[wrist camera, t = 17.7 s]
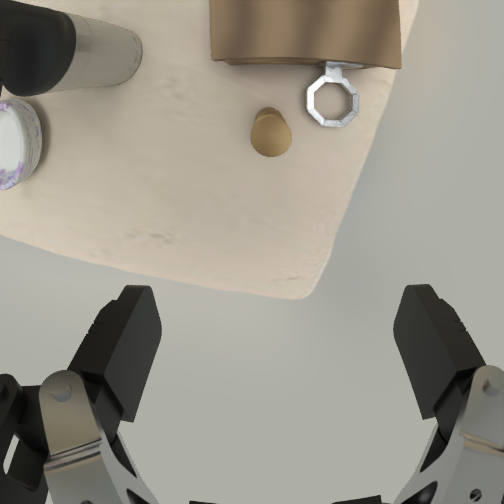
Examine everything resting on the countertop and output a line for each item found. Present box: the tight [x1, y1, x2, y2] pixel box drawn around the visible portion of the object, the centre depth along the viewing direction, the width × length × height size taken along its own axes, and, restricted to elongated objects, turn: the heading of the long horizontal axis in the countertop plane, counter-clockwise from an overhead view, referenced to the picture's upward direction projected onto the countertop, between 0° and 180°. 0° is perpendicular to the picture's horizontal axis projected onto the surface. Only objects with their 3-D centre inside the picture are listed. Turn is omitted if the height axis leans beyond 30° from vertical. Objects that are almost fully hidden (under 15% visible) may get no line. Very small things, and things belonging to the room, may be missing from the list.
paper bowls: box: [0, 99, 42, 190], centre depth 37 cm, size 15×15×8 cm
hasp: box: [305, 60, 364, 127], centre depth 31 cm, size 7×8×8 cm
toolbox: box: [210, 0, 401, 69], centre depth 26 cm, size 19×15×14 cm
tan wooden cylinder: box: [251, 107, 292, 157], centre depth 33 cm, size 4×4×16 cm
